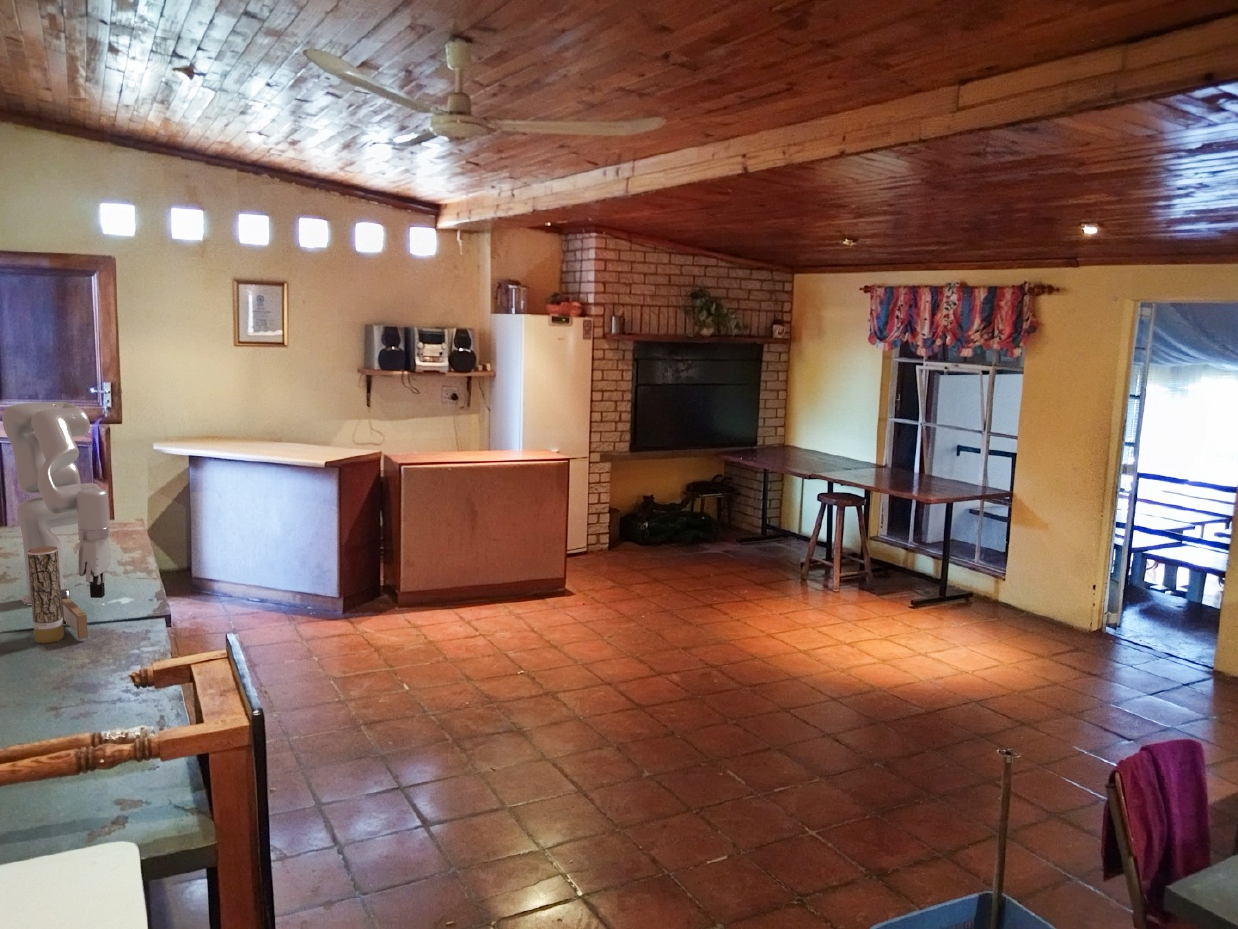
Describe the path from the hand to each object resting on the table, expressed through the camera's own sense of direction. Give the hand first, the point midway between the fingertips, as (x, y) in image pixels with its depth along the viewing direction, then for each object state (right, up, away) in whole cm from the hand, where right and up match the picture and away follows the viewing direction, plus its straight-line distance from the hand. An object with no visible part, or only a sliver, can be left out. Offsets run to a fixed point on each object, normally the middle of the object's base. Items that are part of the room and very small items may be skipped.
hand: (97, 596), depth 259 cm
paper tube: (-7, -10, -10) cm, 16 cm away
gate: (-4, -8, -4) cm, 10 cm away
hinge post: (-11, -8, +3) cm, 14 cm away
